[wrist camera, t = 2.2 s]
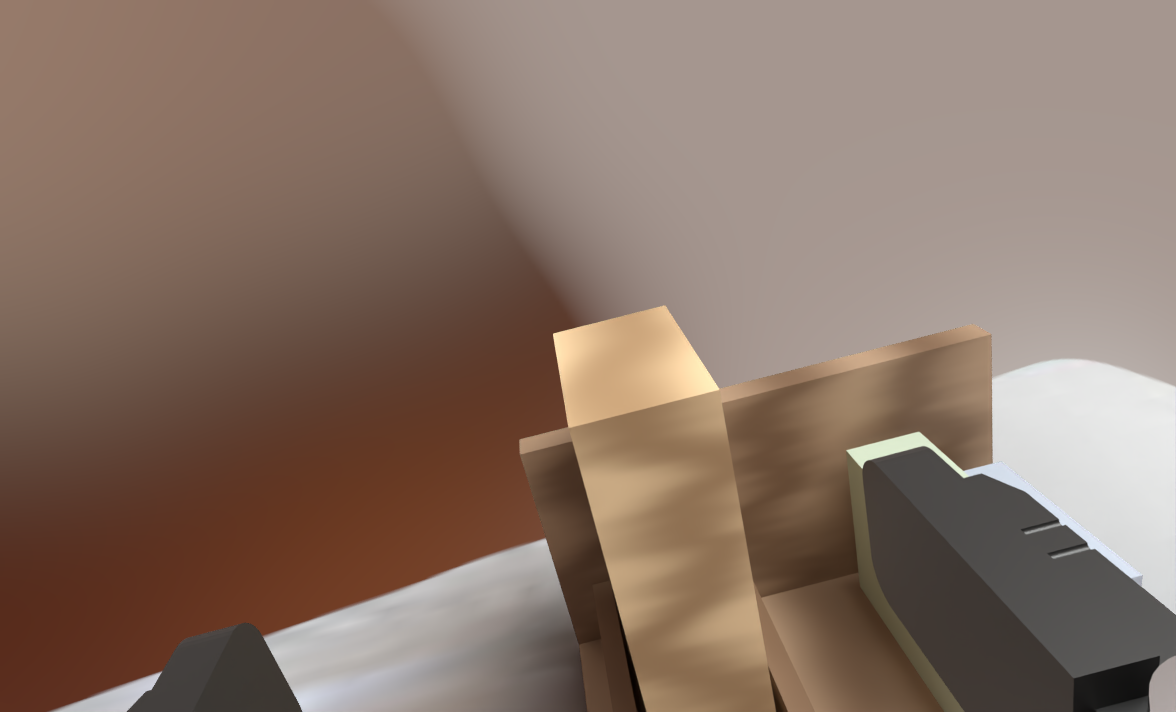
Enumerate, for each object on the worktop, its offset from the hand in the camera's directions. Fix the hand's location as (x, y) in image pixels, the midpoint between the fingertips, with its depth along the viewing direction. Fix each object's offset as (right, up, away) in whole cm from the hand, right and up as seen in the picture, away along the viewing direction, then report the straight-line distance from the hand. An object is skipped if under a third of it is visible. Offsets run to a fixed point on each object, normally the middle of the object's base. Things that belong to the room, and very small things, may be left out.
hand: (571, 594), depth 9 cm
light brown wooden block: (+5, -10, +18) cm, 22 cm away
